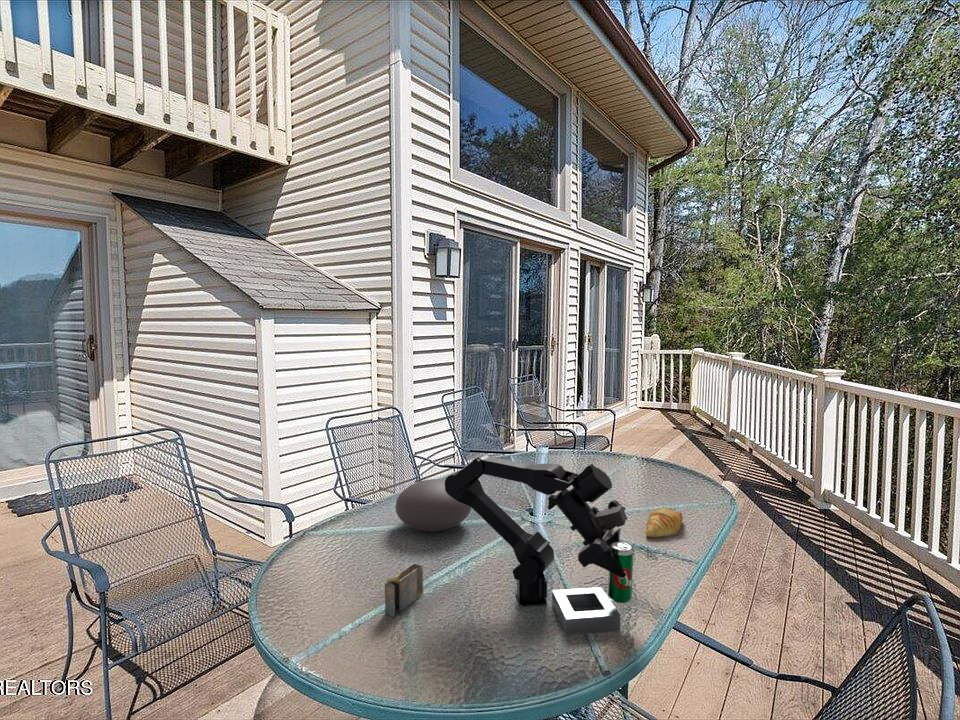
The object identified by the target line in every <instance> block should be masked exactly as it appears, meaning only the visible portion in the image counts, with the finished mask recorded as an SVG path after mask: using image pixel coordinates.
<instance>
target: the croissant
mask: <svg viewBox="0 0 960 720" xmlns="http://www.w3.org/2000/svg"><path fill="white" fill-rule="evenodd" d="M683 519H684V517H683V514H682V512H679V511H676V510H675V511H674V509H672V508H666V507H665V508H658V509H655V510H653V511H651V512H650V513H649V514H648V519H647V523H646V525H645V526H646V527H645V528H646V529H644V531H645V532H644V533H645V535H646V537H649V538H661V537H669V536H674V535H676V534H677V532H679V530H680V528H681V527H682V523H683Z"/></svg>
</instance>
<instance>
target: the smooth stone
mask: <svg viewBox="0 0 960 720" xmlns="http://www.w3.org/2000/svg"><path fill="white" fill-rule="evenodd" d="M445 480H446V479H439V478H433V479H423V480H420V481H417V482H415V483H413V484H411V485H410V484H409V486H408V487H406V488H405V489H403V490H402V492H400V494H399V495H398V497H397V499H396V502H395V507H394V508H395V513H396V515H397V518H399V520H400V521H402V522H403V523H404V524H405V525H406V526H408V527H410V528H412V529H413V530H414V529H415V530H418V531H422V532H429V533H430V532H431V533H432V532H441V531H447V530H448V529H451V528H454V527H456V526H458V525H461V523H462V522H464V521H465V520H466V519H467V517H468V516H469V515H470V513H471V511H472V507H470V506H468V505H465V504H463V503H460V502H458V501H456V500H455V499H453V498H452V497H451V496H449V495H448V494H447V492H446V491H445Z"/></svg>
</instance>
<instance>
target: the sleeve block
mask: <svg viewBox="0 0 960 720" xmlns="http://www.w3.org/2000/svg"><path fill="white" fill-rule="evenodd" d="M551 605H552V607H553V610H554V612H555V614H556V616H557V619H558V620H559V623H560V625H561V627H562V629H563V631H564V634H565V635H567V636H571V635H581V634H582V635H583V634H594V633H595V634H597V633H608V632H621V613H620V612H619V611H618V609H617V608H616V606H615V605H614V603H613V602H612V600H611V599H610V597H609V596H608V594H607V593H606V592H605V590H604V589H603V587H602V586H594V587H593V586H592V587H581V588H580V587H579V588H577V587H576V588H565V589H551ZM591 608H593V609H595V610H582V611H575V609H579V610H580V609H591Z"/></svg>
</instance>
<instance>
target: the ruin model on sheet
mask: <svg viewBox="0 0 960 720" xmlns="http://www.w3.org/2000/svg"><path fill="white" fill-rule="evenodd" d="M423 568H424V564H420V563H416V562H412V564H411V565H409V566H407V567H406V568H405V569H403V570H401V571H400V572H399V573H397V574H396V575H394V576H393V577H392V578H387V579H386V581H385V582H384V609H385V610H384V612H385V614H386V615H388V616H391V617H395V616H396V608H397V606H398V612H400V613H401V612H402V611H403V610H404V609H405V608H407V606H409V605H410V604H412V603H413V602H414V601H416V600H417V599H419V598H420V597H421V596H422V595H424V569H423Z"/></svg>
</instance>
